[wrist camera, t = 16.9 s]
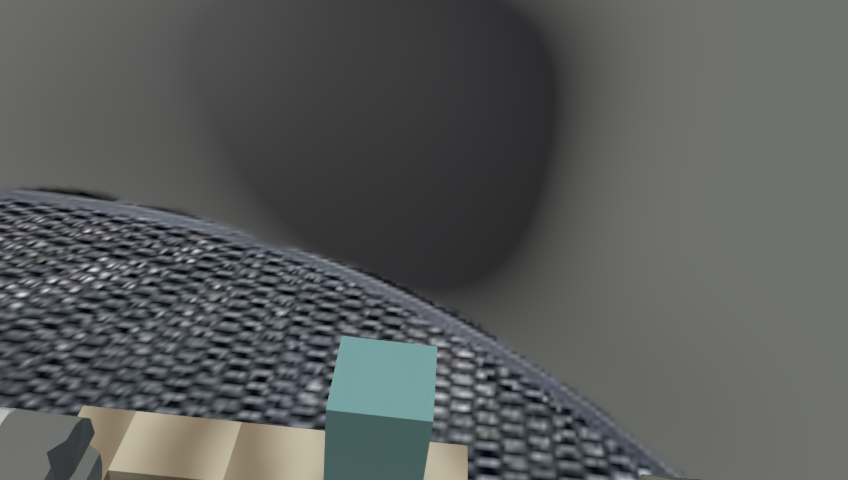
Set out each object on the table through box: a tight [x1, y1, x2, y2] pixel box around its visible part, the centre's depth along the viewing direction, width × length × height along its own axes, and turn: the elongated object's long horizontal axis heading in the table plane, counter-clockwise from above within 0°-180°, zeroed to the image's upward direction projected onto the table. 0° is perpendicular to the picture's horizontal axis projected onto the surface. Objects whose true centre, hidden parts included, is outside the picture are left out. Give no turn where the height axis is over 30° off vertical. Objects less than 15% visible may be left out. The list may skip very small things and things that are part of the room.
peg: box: [323, 336, 437, 480], centre depth 32 cm, size 4×4×12 cm
